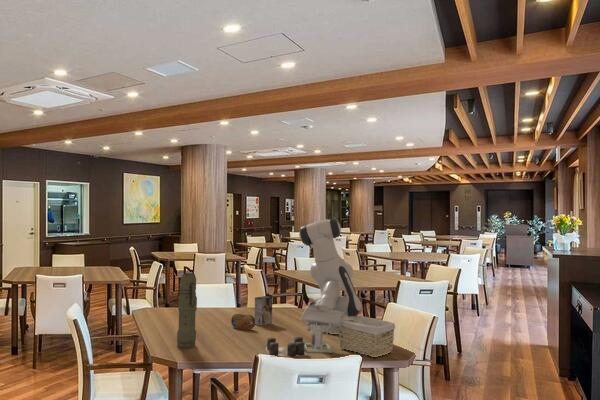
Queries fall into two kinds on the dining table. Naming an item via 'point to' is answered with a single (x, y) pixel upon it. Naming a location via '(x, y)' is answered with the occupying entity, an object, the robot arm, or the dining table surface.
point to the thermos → (187, 311)
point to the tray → (319, 350)
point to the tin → (243, 321)
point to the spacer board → (286, 348)
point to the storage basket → (366, 335)
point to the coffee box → (263, 310)
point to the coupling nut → (317, 336)
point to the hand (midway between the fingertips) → (317, 331)
